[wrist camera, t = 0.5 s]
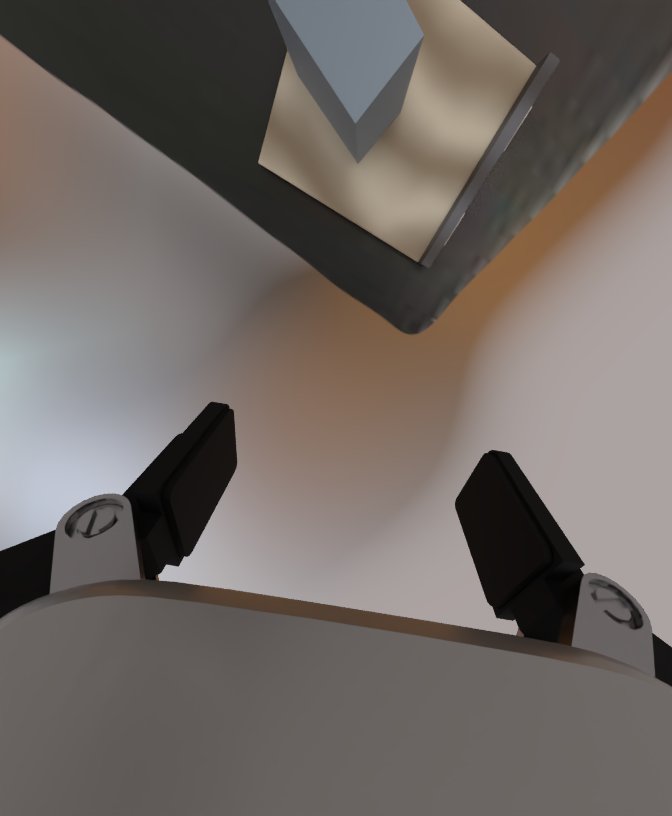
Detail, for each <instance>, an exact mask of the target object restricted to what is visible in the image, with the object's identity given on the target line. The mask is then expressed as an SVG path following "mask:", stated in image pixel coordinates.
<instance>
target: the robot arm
mask: <svg viewBox="0 0 672 816" xmlns="http://www.w3.org/2000/svg"><path fill="white" fill-rule="evenodd" d="M236 466H237V452H236V438H235V422H234V411H233V410H232V409H229V405H227V404H223V403H217V402H210V403H209V404H208V405H207V406H206V407H205V409H204V410H203V411H202V412H201V413H200V414H199V415H198V416H197V418H196V419H195V420H194V421H193V422H192V423H191V424H190V425H189V426H188V428H187V429H186V430H185V431H184V432H183V433H181V434H178V435H177V436H176V437H175V438H174V439H173V440H172V441H171V442H170V443H169V444H168V446H167V447H166V448H165V449H164V450H163V451H162V452H161V453H160V454H159V455H158V456H157V458H156V459H155V460H154V461H153V462H152V463H151V464H150V465H149V466H148V467H147V468H146V470H145V471H144V472H143V473H142V474H141V475H140V476H139V477H138V478H137V480H136V481H135V482H134V483H133V484H132V485H131V486H130V487H129V488H128V489H127V490H126V491H125V493H124V494H123V495H118V494H103V495H98V496H94V497H92V498H89V499H87V500H84V501H82V502H81V503H79V504H77V505H76V506H74V507H73V508H71V509H70V510H69V511H68V512H67V513H66V514H64V516H63V517H62V519H61V520H60V521H59V522H58V525H57V528H56V530H54V531H51V532H49V533H46V534H43V535H41V536H39V537H36V538H33V539H30V540H28V541H25V542H23V543H20V544H18V545H16V546H12V547H10V548H7V549H5V550H2V551H0V816H672V647H671V646H669V645H668V644H666V643H665V642H664V641H662V640H661V639H660V638H658V637H657V636H656V635H654V634H653V633H652V627H651V624H650V620H649V618H648V616H647V614H646V613H645V611H644V609H643V608H642V607H641V606H640V604H639V603H638V602H637V601H636V599H635V598H634V597H633V596H631V595H630V594H629V593H628V592H627V591H626V590H625V589H624V588H622V587H621V586H620V585H618V584H617V583H616V582H614V581H612V580H611V579H609V578H607V577H605V576H602V575H599V574H596V573H588V574H585V575H584V574H583V572H582V571H581V569H580V568H581V567H583V566H584V565H585V564H584V563H583V561H582V560H581V558H580V557H579V556H578V554H577V552H576V551H575V549H574V548H573V546H572V545H571V544H570V542H569V541H568V539H567V538H566V536H565V534H564V533H563V531H562V530H561V529H560V527H559V526H558V524H557V522H556V521H555V520H554V518H553V517H552V515H551V514H550V512H549V511H548V509H547V508H546V506H545V505H544V503H543V502H542V500H541V499H540V497H539V496H538V494H537V493H536V491H535V490H534V488H533V487H532V485H531V484H530V482H529V481H528V479H527V478H526V476H525V475H524V473H523V472H522V470H521V469H520V467H519V466H518V464H517V463H516V461H515V460H514V458H513V457H512V455H511V454H510V453H507V452H501V451H496V450H491V451H489V452H488V453H485V454H484V455H483V456H482V458H481V459H480V461H479V463H478V464H477V466H476V467H475V469H474V471H473V472H472V474H471V476H470V477H469V479H468V480H467V482H466V484H465V485H464V487H463V489H462V490H461V492H460V494H459V495H458V497H457V498H456V502H455V508H456V511H457V514H458V517H459V520H460V523H461V526H462V529H463V532H464V535H465V538H466V540H467V543H468V547H469V549H470V553H471V556H472V558H473V561H474V564H475V567H476V570H477V573H478V576H479V579H480V582H481V585H482V588H483V591H484V594H485V597H486V599H487V602H488V603H489V604H490V605H491V606H492V607H493V609H494V612H495V615H496V618H500V619H506V620H512V621H513V620H516V622H517V625H518V627H519V628H518V631H517V635H516V636H515V635H509V634H503V633H497V632H491V631H485V630H479V629H473V628H467V627H461V626H455V625H449V624H443V623H437V622H431V621H425V620H419V619H413V618H407V617H400V616H394V615H388V614H382V613H375V612H369V611H363V610H357V609H350V608H345V607H338V606H332V605H326V604H320V603H313V602H307V601H301V600H294V599H288V598H281V597H275V596H268V595H262V594H255V593H249V592H243V591H236V590H230V589H222V588H215V587H208V586H200V585H193V584H186V583H178V582H169V581H168V582H167V581H159V578H158V574H160V573H161V572H162V570H163V569H164V567H165V565H173V566H179V565H180V563H181V561H182V559H183V557H184V556H186V557H188V556H189V555H190V554H191V552H192V551H193V549H194V547H195V545H196V544H197V542H198V540H199V538H200V536H201V534H202V532H203V530H204V529H205V526H206V524H207V523H208V521H209V519H210V517H211V515H212V513H213V512H214V510H215V508H216V506H217V504H218V502H219V500H220V498H221V496H222V495H223V493H224V491H225V489H226V487H227V485H228V483H229V481H230V479H231V478H232V476H233V474H234V472H235V469H236Z"/></svg>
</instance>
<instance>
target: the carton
mask: <svg viewBox="0 0 672 816" xmlns="http://www.w3.org/2000/svg"><path fill="white" fill-rule="evenodd" d="M268 2H269V5H270V7H271V10H272V12H273V15H274V17H275V20H276V22H277V25H278V27H279V30H280V32H281V35H282V37H283V40H284V42H285V45H286V47H287V50H288V52H289V55H290V57H291V60H292V62H293V65H294V67H295V70H296V72H297V75H298V77H299V78H300V80H301V81H302V82H303V84H304V85H305V87H306V88H307V90H308V91H309V93H310V94H311V96H312V97H313V99H314V100H315V102H316V103H317V104H318V106H319V107H320V109H321V110H322V112H323V113H324V115H325V116H326V118H327V119H328V121H329V122H330V124H331V125H332V126H333V128H334V129H335V131H336V132H337V134H338V135H339V137H340V138H341V140H342V141H343V143H344V144H345V146H346V147H347V148H348V150H349V151H350V153H351V154H352V156H353V157H354V159H355V160H356V162H357V163H359V162H360V161H361V160H362V159H363V157H364V156H365V155H366V154H367V153H368V151H369V150H370V149H371V148H372V147H373V145H374V144H375V143H376V142H377V140H378V139H379V138H380V137H381V136H382V134H383V133H384V132H385V131H386V130H387V128H388V127H389V126H390V125H391V124H392V122H393V121H394V120H395V119H396V118H397V116H398V115H399V114H400V113H401V110H402V107H403V103H404V100H405V97H406V93H407V90H408V87H409V83H410V80H411V77H412V74H413V70H414V67H415V64H416V60H417V57H418V54H419V50H420V47H421V44H422V41H423V37H424V34H423V32H422V30H421V28H420V26H419V24H418V22H417V20H416V18H415V16H414V14H413V12H412V10H411V8H410V7H409V5H408V3H407V1H406V0H268Z"/></svg>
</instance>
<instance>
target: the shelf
mask: <svg viewBox="0 0 672 816" xmlns="http://www.w3.org/2000/svg"><path fill="white" fill-rule="evenodd" d="M406 1H407V3H408V5H409V7H410V8H411V10H412V12H413V14H414V16H415V18H416V20H417V22H418V24H419V26H420V28H421V30H422V32H423V34H424V37H423V41H422V44H421V47H420V50H419V54H418V57H417V60H416V64H415V67H414V70H413V74H412V77H411V80H410V83H409V87H408V90H407V93H406V97H405V100H404V103H403V107H402V110H401V113H400V114H399V115H398V116H397V118H396V119H395V120H394V121H393V122H392V124H391V125H390V126H389V127H388V128H387V130H386V131H385V132H384V133H383V134H382V136H381V137H380V138H379V139H378V140H377V142H376V143H375V144H374V145H373V147H372V148H371V149H370V150H369V151H368V153H367V154H366V155H365V156H364V157H363V159H362V160H361V161H360V162H359V163H357V162H356V160H355V159H354V157H353V156H352V154H351V153H350V151H349V150H348V148H347V147H346V146H345V144H344V143H343V141H342V140H341V138H340V137H339V135H338V134H337V132H336V131H335V129H334V128H333V126H332V125H331V124H330V122H329V121H328V119H327V118H326V116H325V115H324V113H323V112H322V110H321V109H320V107H319V106H318V104H317V103H316V102H315V100H314V99H313V97H312V96H311V94H310V93H309V91H308V90H307V88H306V87H305V85H304V84H303V82H302V81H301V80H300V78H299V77H298V75H297V72H296V70H295V67H294V65H293V62H292V60H291V57H290V55H289V52H288V50H287V53H286V57H285V61H284V65H283V69H282V73H281V77H280V81H279V84H278V88H277V92H276V96H275V100H274V104H273V108H272V111H271V115H270V119H269V123H268V127H267V131H266V135H265V138H264V142H263V146H262V150H261V154H260V158H259V162H258V163H259V164H261V165H262V166H264V167H265V168H267V169H268V170H270V171H272V172H273V173H275V174H276V175H278V176H280V177H281V178H283V179H284V180H286V181H288V182H289V183H291V184H292V185H294V186H296V187H297V188H299V189H300V190H302V191H304V192H305V193H307V194H308V195H310V196H312V197H313V198H315V199H317V200H318V201H320V202H321V203H323V204H325V205H326V206H328V207H329V208H331V209H333V210H334V211H336V212H337V213H339V214H341V215H342V216H344V217H345V218H347V219H349V220H350V221H352V222H353V223H355V224H357V225H358V226H360V227H361V228H363V229H365V230H366V231H368V232H369V233H371V234H373V235H374V236H376V237H377V238H379V239H381V240H382V241H384V242H386V243H387V244H389V245H390V246H392V247H394V248H395V249H397V250H398V251H400V252H402V253H403V254H405V255H406V256H408V257H410V258H411V259H413V260H414V261H416V262H418V263H419V264H421V265H422V266H424V267H427V268H430V267H431V265H432V263H433V262H434V260H435V259H436V257H437V255H438V254H439V252H440V251H441V249H442V248H443V246H444V245H445V244H446V243H447V241H448V240H449V238H450V236H451V235H452V233H453V232H454V230H455V228H456V227H457V225H458V224H459V222H460V221H461V219H462V217H463V216H464V214H465V211H466V209H467V208H468V206H469V205H470V203H471V201H472V200H473V198H474V197H475V195H476V194H477V192H478V190H479V189H480V187H481V186H482V184H483V182H484V181H485V179H486V178H487V176H488V174H489V173H490V171H491V170H492V168H493V167H494V165H495V163H496V162H497V160H498V159H499V157H500V155H501V154H502V152H504V151H505V149H506V148H507V146H508V145H509V143H510V141H511V140H512V138H513V137H514V135H515V133H516V132H517V130H518V129H519V127H520V126H521V124H522V122H523V121H524V119H525V118H526V116H527V114H528V113H529V111H530V110H531V108H532V107H531V106H532V105H533V103H534V101H535V100H536V98H537V97H538V95H539V94H540V92H541V90H542V89H543V87H544V86H545V84H546V82H547V81H548V79H549V78H550V76H551V74H552V73H553V71H554V70H555V68H556V67H557V65H558V63H559V62H560V60H559V59H558V58H557V57H556V56H555V55H554V54H553V53H551V52H550V53H549V54H548V55H547V56H546V57H545V58H544V59H543V60H542V61H541V62H540V63H539V64H538V65H537V66H536V65H535V64H534V63H532V62H531V61H530V60H529V59H528V58H527V57H525V56H524V55H523V54H522V53H521V52H520V51H518V50H517V49H516V48H515V47H514V46H513V45H511V44H510V43H509V42H508V41H507V40H506V39H504V38H503V37H502V36H501V35H500V34H499V33H497V32H496V31H495V30H494V29H493V28H492V27H490V26H489V25H488V24H487V23H486V22H485V21H484V20H482V19H481V18H480V17H479V16H478V15H477V14H475V13H474V12H473V11H472V10H471V9H470V8H468V7H467V6H466V5H465V4H464V3H463V2H461V1H460V0H406Z"/></svg>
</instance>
